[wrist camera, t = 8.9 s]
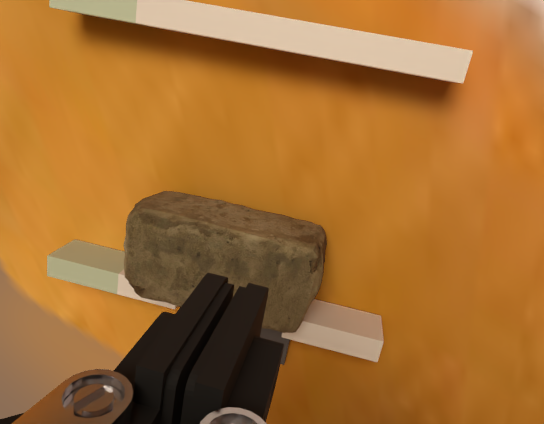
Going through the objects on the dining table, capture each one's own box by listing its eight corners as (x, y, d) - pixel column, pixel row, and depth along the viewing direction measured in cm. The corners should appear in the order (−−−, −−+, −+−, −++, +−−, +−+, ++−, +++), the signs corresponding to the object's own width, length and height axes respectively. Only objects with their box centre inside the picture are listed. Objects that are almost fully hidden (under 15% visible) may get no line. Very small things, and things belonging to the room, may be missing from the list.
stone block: (154, 181, 28) (121, 204, 23) (332, 219, 28) (334, 250, 23) (146, 263, 30) (113, 299, 25) (312, 299, 29) (311, 343, 25)
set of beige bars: (459, 53, 24) (473, 50, 21) (375, 334, 30) (377, 362, 27) (82, -13, 26) (49, -24, 23) (74, 258, 32) (47, 275, 29)
